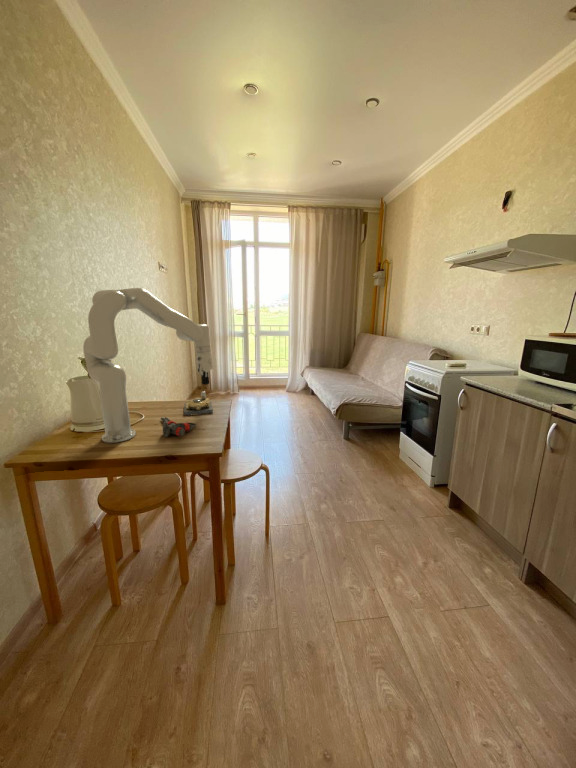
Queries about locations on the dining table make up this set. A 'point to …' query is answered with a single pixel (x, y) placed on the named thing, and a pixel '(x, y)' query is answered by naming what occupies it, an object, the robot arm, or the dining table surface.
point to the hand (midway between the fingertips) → (205, 384)
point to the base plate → (200, 411)
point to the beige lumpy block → (198, 402)
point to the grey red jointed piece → (175, 427)
